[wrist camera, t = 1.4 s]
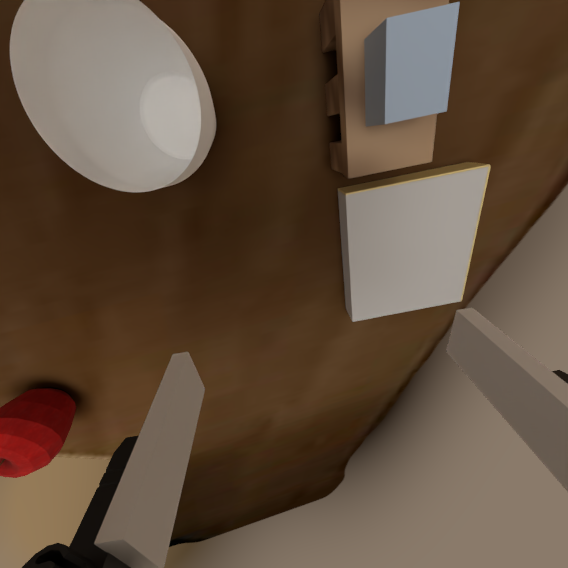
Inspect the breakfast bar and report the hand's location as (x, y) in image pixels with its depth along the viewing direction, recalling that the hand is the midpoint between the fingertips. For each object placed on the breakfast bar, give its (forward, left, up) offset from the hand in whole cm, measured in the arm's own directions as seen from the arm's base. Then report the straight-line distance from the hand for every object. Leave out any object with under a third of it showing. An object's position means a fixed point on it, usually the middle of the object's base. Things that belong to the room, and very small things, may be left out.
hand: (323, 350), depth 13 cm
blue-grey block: (-11, +9, -13) cm, 20 cm away
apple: (+18, -40, -19) cm, 48 cm away
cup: (-12, -8, -19) cm, 24 cm away
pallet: (-12, +9, -19) cm, 24 cm away
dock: (+5, +13, -19) cm, 23 cm away
